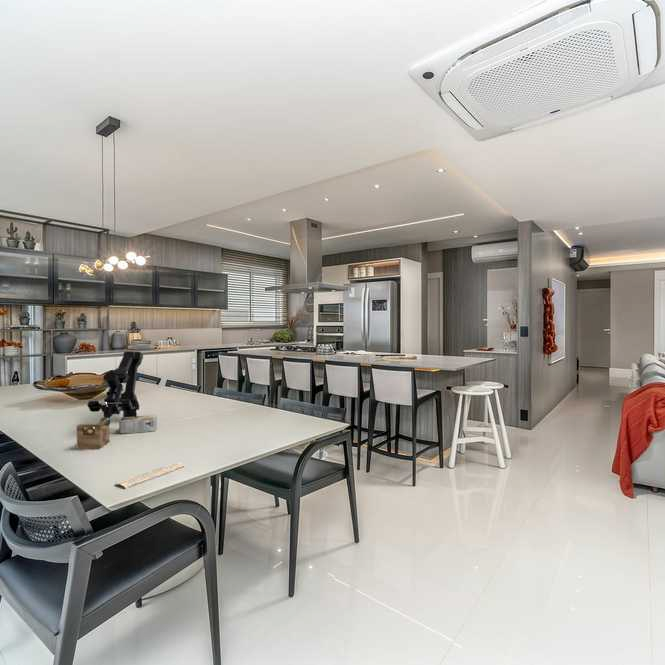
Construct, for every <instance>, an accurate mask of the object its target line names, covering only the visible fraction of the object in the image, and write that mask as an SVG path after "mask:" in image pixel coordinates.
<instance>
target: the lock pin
mask: <svg viewBox="0 0 665 665" xmlns="http://www.w3.org/2000/svg"><path fill="white" fill-rule="evenodd" d="M111 422H112V421H111V418H108V417H104V416H103V417H102V418H101V419H99V421H98V422H96V423H95V424H102V427H103V426H110V424H111ZM94 432H95V427H93V428H87V429H86V434H87V435H91V434H93V433H94Z"/></svg>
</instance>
